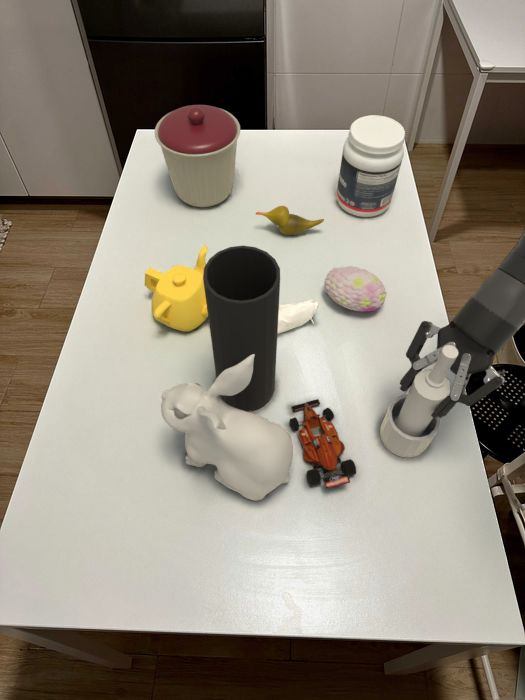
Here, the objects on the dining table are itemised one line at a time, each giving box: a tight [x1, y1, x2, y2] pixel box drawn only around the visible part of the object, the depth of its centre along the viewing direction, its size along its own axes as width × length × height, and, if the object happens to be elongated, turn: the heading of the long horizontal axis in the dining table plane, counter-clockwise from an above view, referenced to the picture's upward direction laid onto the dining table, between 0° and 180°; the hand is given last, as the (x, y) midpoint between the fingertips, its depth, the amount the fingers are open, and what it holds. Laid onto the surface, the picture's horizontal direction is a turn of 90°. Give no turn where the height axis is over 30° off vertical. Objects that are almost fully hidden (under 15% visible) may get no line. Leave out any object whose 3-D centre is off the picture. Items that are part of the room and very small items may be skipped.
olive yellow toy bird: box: [255, 205, 325, 236], centre depth 112 cm, size 4×15×6 cm, turn 86°
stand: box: [379, 393, 442, 458], centre depth 85 cm, size 8×8×7 cm
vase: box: [203, 245, 281, 412], centre depth 80 cm, size 10×10×30 cm
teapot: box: [144, 245, 209, 332], centre depth 98 cm, size 14×13×10 cm
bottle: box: [394, 345, 458, 437], centre depth 77 cm, size 5×5×25 cm
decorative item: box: [323, 265, 387, 313], centre depth 101 cm, size 9×11×10 cm
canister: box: [154, 104, 241, 208], centre depth 114 cm, size 18×18×21 cm
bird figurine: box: [277, 298, 319, 335], centre depth 98 cm, size 5×7×10 cm
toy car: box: [289, 398, 357, 490], centre depth 85 cm, size 8×16×4 cm, turn 15°
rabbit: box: [160, 354, 294, 501], centre depth 75 cm, size 12×21×25 cm, turn 67°
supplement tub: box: [335, 114, 406, 218], centre depth 113 cm, size 13×13×18 cm
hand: (418, 403), depth 76 cm, fingers open, 5 cm apart
